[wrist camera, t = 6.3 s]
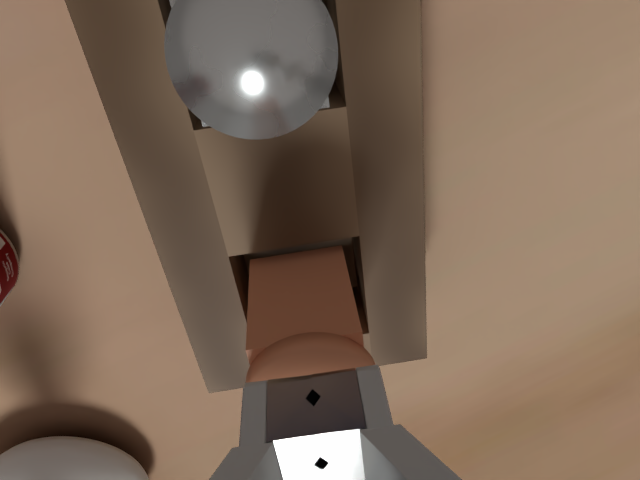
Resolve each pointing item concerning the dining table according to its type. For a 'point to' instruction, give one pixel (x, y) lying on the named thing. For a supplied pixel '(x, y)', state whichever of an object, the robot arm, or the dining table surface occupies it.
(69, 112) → the dining table surface
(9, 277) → the soda can
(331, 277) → the terracotta plunger
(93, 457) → the flower in vase
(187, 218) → the walnut block
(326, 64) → the metal plunger
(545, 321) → the dining table surface
